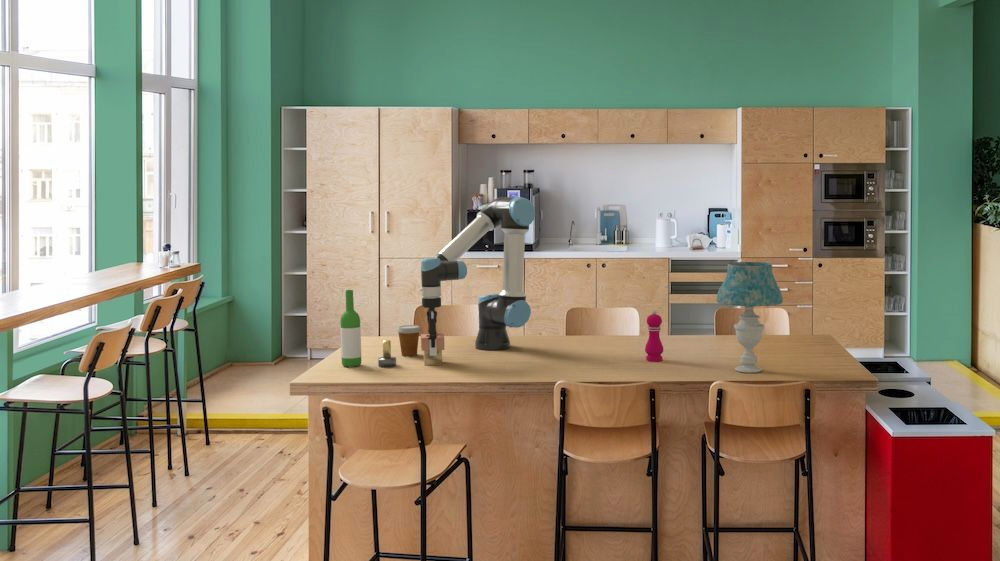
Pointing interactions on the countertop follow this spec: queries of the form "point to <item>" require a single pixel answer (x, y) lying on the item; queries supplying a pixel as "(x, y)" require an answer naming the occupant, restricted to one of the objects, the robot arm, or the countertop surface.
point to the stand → (432, 358)
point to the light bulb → (387, 356)
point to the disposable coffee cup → (409, 339)
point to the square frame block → (426, 345)
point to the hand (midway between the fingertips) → (432, 353)
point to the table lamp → (749, 304)
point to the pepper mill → (654, 338)
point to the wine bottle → (350, 334)
